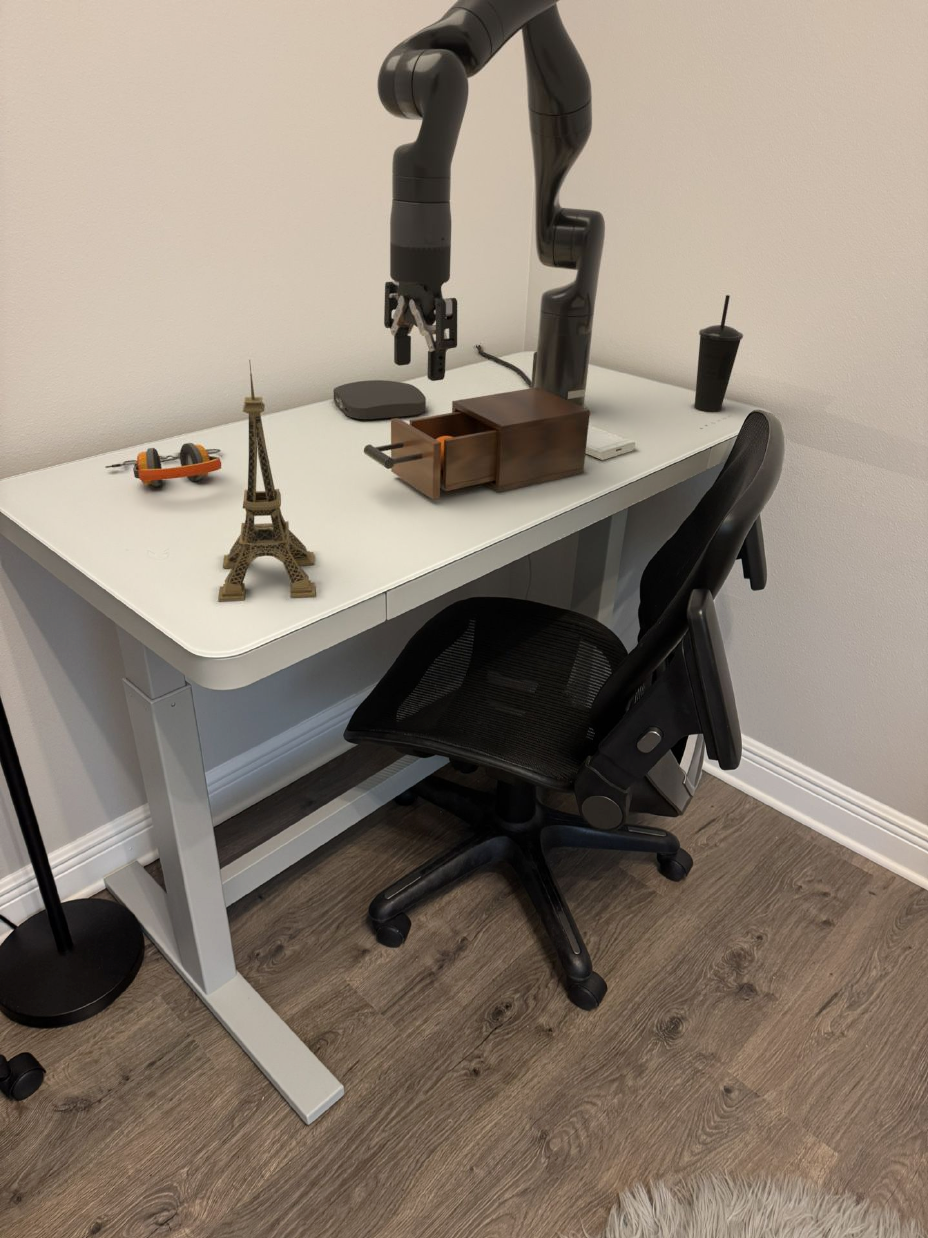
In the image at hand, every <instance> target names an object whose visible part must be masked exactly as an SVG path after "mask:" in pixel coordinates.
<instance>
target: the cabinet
mask: <svg viewBox="0 0 928 1238" xmlns="http://www.w3.org/2000/svg"><path fill="white" fill-rule="evenodd" d="M459 411H461V412H463V413H465V414H467V415H469V416H471V417H473V418H475V419H477V420H479V421H481V422H483V423H485V424H487V425H489V426H491V427H493V428H494V429H496V430H498V449H497V466H496V480H494V481H490V482H485V483H482V484H483V485H485V486H486V487H488V488H490V489H492V490H494V491H495V492H496V493H503V492H507V491H511V490H516V489H520V488H525V487H529V486H533V485H537V484H538V485H539V484H542V483H547V482H550V481H555V480H560V479H564V478H568V477H573V476H577V475H582V474H584V472H585V471H584V470H585V462H586V461H585V460H586V444H587V435H588V425H590V416H591V410H590V409H589V408H586V407H582V406H579V405H577V404H575V403H572V402H570V401H568V400H565V399H563V398H561V397H558V396H556V395H554V394H551V393H549V392H547V391H544V390H542V389H540V388H537V387H536V388H530V387H529V388H525V389H519V390H512V391H506V392H501V393H494V394H488V395H481V396H475V397H470V398H463V399H457V400H452V401H451V413H453V412H459Z"/></svg>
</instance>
